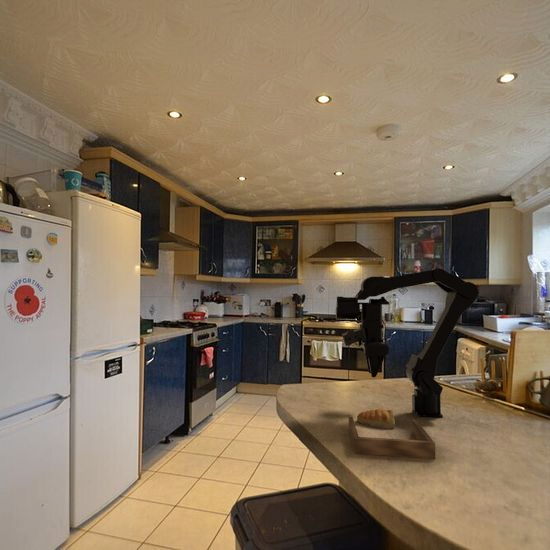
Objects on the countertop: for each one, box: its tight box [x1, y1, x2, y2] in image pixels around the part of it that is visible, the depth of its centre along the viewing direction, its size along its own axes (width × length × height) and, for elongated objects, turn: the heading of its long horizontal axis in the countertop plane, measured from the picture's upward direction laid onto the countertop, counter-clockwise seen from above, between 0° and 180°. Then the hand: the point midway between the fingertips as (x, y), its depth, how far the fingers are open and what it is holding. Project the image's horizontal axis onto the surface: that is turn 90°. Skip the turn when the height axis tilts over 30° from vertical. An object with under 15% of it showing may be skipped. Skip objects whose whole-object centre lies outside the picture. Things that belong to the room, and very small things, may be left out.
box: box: [348, 416, 436, 459], centre depth 79 cm, size 16×14×3 cm
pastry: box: [356, 408, 396, 429], centre depth 92 cm, size 9×7×4 cm
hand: (372, 375), depth 102 cm, fingers open, 5 cm apart
